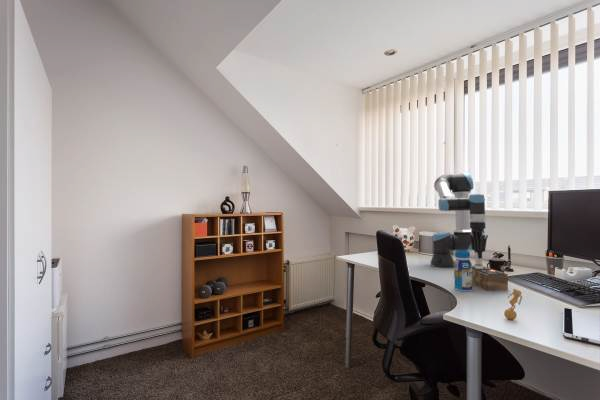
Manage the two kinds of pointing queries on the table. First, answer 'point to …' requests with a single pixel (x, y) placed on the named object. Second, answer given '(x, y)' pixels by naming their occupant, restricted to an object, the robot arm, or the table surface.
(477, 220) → the robot arm
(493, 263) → the coffee mug
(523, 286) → the table surface
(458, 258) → the beverage bottle
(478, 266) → the back peg
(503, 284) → the walnut block
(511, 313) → the figurine
